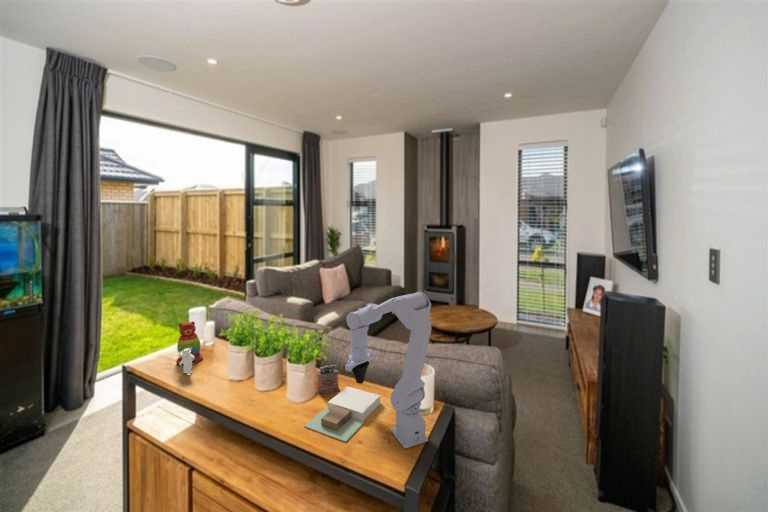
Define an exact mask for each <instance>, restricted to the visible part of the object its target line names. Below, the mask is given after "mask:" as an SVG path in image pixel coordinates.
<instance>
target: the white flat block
mask: <svg viewBox="0 0 768 512" xmlns="http://www.w3.org/2000/svg"><path fill="white" fill-rule="evenodd" d="M379 405H381V395H380V394H376V393H372V392H369V391H365V390H361V389H358V388H355V387H350V386H346V387H345V388H344V389H343V390H341V391H340V392H338V393H337V394H336V395H335V396H333V397H332V398H331V399H329V401H328V402H327V409H329V410H332V409H333V408H334V407H335V406H338V407H341V408H344V409H348V410H351V417H353V418H356V419H360V420H363V421H365V420H366V419H367V418H369V416H370V415H371V414H372V413H373V412H374V411H375V410H376V408H377V407H378V406H379Z"/></svg>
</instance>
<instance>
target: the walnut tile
mask: <svg viewBox="0 0 768 512" xmlns="http://www.w3.org/2000/svg"><path fill="white" fill-rule="evenodd" d="M350 418H351V410H348V409H344V408H341V407H338V406H335V407H334V408H333V409H332V410H331V411H329V412H328V413H327V414H326V415H325V416H323V417H322V418H321V426H323V427H326V428H329V429H332V430H334V431H338V430H339V429H340V428H341V427H342V426H343V425H344V424H345V423H346V422H347V421H348V420H349V419H350Z"/></svg>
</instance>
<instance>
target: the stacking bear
mask: <svg viewBox="0 0 768 512" xmlns="http://www.w3.org/2000/svg"><path fill="white" fill-rule="evenodd" d="M196 328H197V327H196V323H195V321H190V322H188V321H187V322H183V323H180V324H178V331H179V334H180V336H179V338H178V340H177V346H176V348H177V352H178V354H179V353H180V352H181V351H182V352H183V350H184V349H186V348H191V352H190V353H191V354H192V355H193V356H195V358H194V360H193V359H192V360H193V361H199V362H201V361H200V360H202V359H203V360H204V356H203V354H202V353H201V352H200V351H201V340H200V338H199V336H198V333H196ZM189 350H190V349H189ZM179 357H180V356H179ZM181 360H182V358H181V357H180V358H177V359H176V363H177V364H179V363H180V362H181ZM203 360H202V361H203ZM177 364H176V365H177ZM182 364H183V363H182ZM183 365H184V364H183Z"/></svg>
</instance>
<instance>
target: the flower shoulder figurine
mask: <svg viewBox="0 0 768 512" xmlns="http://www.w3.org/2000/svg"><path fill="white" fill-rule="evenodd" d="M189 349H190V350H189ZM190 352H191V348H186V349H184V350H183V352H182V351H181V352H180V353H178V354H177V357H178V358H180V357H181V358H182V360H181V362H180V363H179V365H178V366H183V373H187V374H191V373H192V374H193V372H192V369H193V362H192V361H193V360H194V358H195V356H193V355H192V354H191V353H190ZM178 358H177V359H178ZM192 359H193V360H192ZM182 363H184V364H183V365H182Z"/></svg>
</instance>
